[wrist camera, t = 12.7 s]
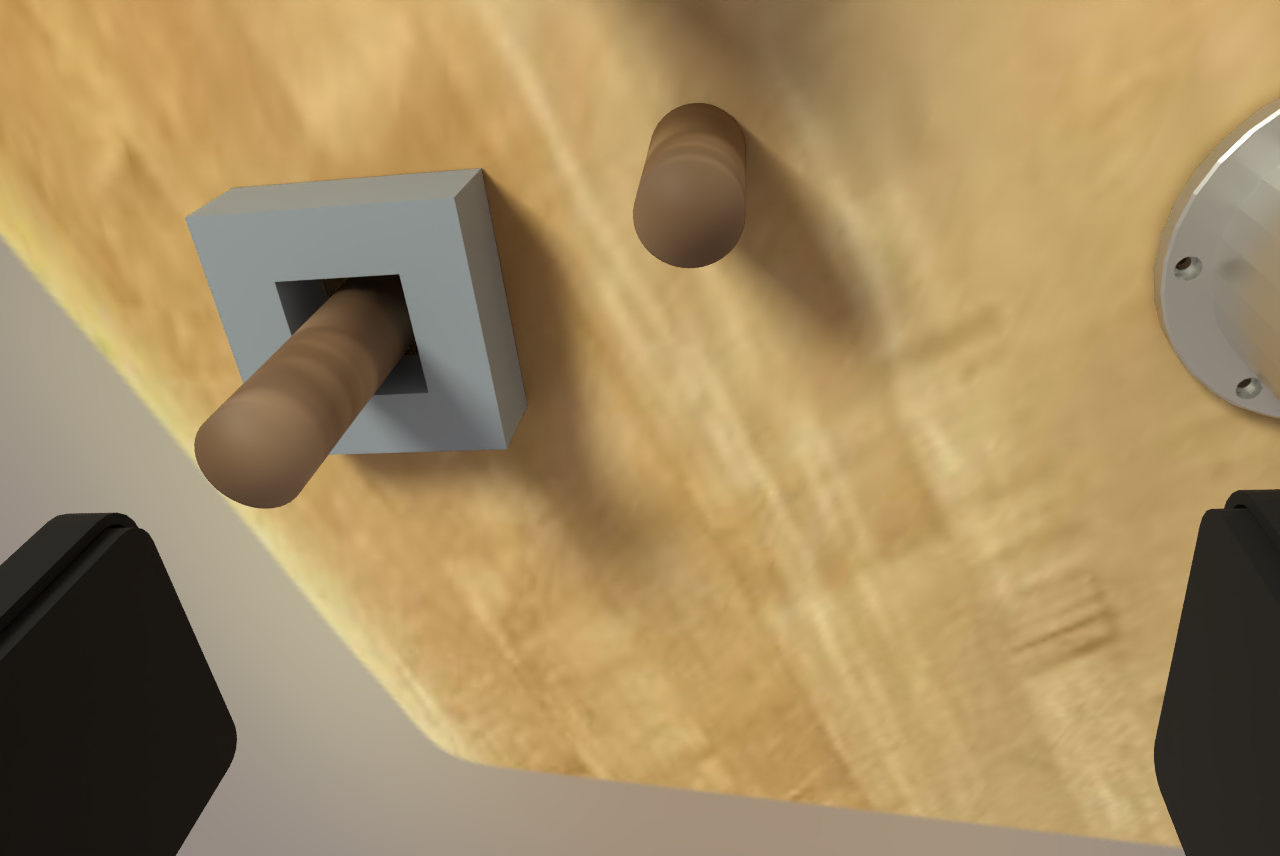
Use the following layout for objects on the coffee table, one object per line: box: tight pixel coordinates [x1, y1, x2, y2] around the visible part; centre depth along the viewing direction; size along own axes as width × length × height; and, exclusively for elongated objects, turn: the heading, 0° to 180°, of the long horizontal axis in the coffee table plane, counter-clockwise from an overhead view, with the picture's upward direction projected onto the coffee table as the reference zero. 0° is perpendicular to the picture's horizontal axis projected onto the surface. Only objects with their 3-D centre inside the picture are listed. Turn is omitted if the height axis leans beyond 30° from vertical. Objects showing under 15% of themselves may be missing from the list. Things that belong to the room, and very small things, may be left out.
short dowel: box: [633, 103, 746, 268], centre depth 32 cm, size 3×3×6 cm
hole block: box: [185, 168, 527, 455], centre depth 38 cm, size 10×10×4 cm
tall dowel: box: [194, 274, 415, 509], centre depth 34 cm, size 3×3×12 cm
